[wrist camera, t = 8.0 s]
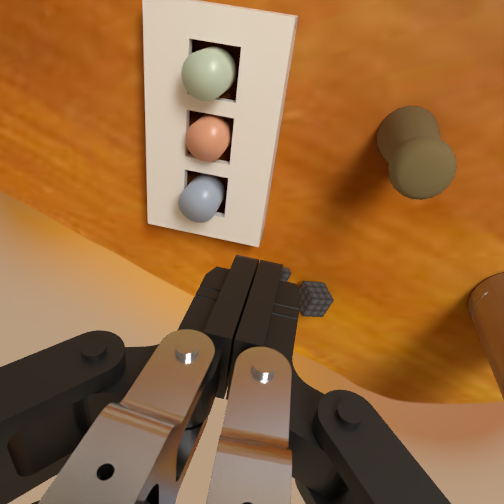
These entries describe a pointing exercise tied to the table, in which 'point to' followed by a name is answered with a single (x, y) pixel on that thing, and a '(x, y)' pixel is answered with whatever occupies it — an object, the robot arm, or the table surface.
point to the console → (214, 111)
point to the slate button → (201, 198)
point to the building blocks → (311, 296)
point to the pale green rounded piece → (208, 73)
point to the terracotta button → (209, 137)
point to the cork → (415, 153)
